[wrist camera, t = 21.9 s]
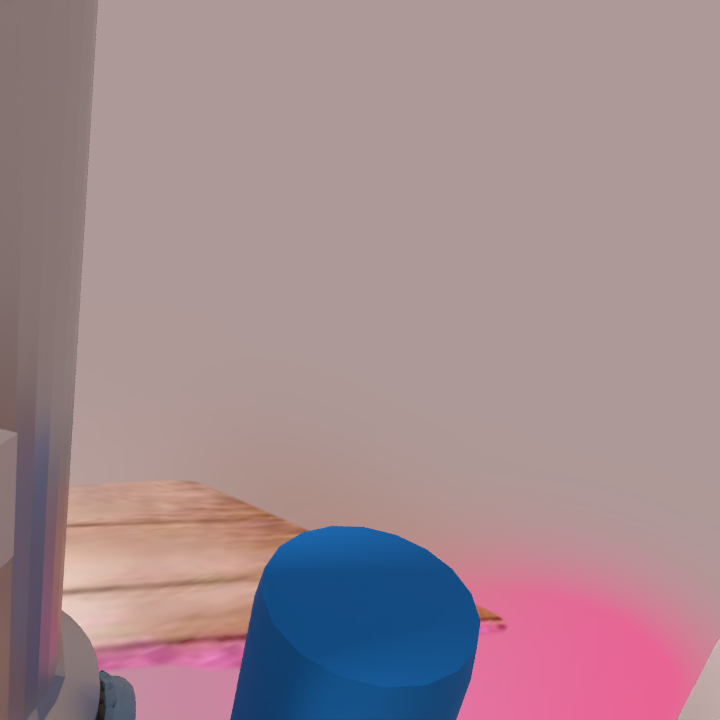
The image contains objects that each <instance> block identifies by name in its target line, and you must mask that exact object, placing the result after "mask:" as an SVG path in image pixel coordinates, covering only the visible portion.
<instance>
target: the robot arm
mask: <svg viewBox="0 0 720 720" xmlns="http://www.w3.org/2000/svg"><path fill="white" fill-rule="evenodd" d="M97 8H98V0H0V720H135V716H136V713H135V712H136V708H135V707H136V701H135V693H134V689H133V687H132V685H131V684H130V683H129V682H128V681H127V680H126V679H124V678H122V677H119V676H110V675H109V674H108V673H106V672H104V671H103V670H101V671H100V672H99V670H98V663H97V657H96V654H95V651H94V649H93V647H92V644H91V642H90V640H89V638H88V637H87V635H86V634H85V633H84V631H83V630H82V628H81V627H80V626H79V625H78V624H77V623H76V622H75V621H74V620H73V619H72V618H71V617H70V616H69V615H67V614H66V613H65V612H63V611H62V610H61V609H62V593H63V576H64V559H65V542H66V526H67V509H68V492H69V476H70V459H71V441H72V425H73V408H74V392H75V375H76V359H77V342H78V341H77V340H78V325H79V308H80V291H81V273H82V258H83V240H84V225H85V207H86V192H87V175H88V158H89V141H90V123H91V108H92V91H93V74H94V58H95V41H96V24H97ZM677 720H720V638H719V640H718V642H717V644H716V646H715V648H714V650H713V651H712V653H711V655H710V657H709V659H708V661H707V663H706V665H705V667H704V669H703V671H702V673H701V674H700V676H699V679H698V680H697V682H696V684H695V686H694V688H693V690H692V692H691V694H690V695H689V697H688V699H687V701H686V703H685V705H684V707H683V709H682V711H681V713H680V715H679V717H678V718H677Z"/></svg>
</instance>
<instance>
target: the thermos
mask: <svg viewBox="0 0 720 720" xmlns="http://www.w3.org/2000/svg"><path fill="white" fill-rule="evenodd" d="M479 627H480V618H479V615H478V612H477V609H476V606H475V603H474V600H473V597H472V594H471V593H470V591H469V590H468V589H467V588H466V586H465V585H464V584H463V582H462V581H461V580H460V579H459V577H458V576H457V575H456V574H455V572H454V571H453V570H452V569H451V568H450V567H449V566H447V565H446V564H445V563H443V562H442V561H441V560H440V559H438V558H437V557H436V556H434V555H433V554H432V553H430V552H429V551H428V550H426V549H425V548H422V547H420V546H418V545H416V544H414V543H412V542H410V541H408V540H405V539H403V538H401V537H399V536H397V535H393V534H389V533H386V532H382V531H378V530H374V529H369V528H365V527H342V526H330V527H326V528H322V529H317V530H313V531H308V532H303V533H301V534H300V535H298V536H296V537H295V538H293V539H291V540H290V541H288V542H286V543H285V544H283V545H281V546H280V547H279V548H278V549H277V551H276V552H275V554H274V555H273V557H272V558H271V559H270V561H269V562H268V564H267V565H266V567H265V569H264V571H263V574H262V577H261V580H260V582H259V585H258V588H257V591H256V594H255V597H254V602H253V607H252V612H251V617H250V622H249V628H248V633H247V638H246V643H245V648H244V653H243V658H242V663H241V668H240V673H239V679H238V684H237V690H236V694H235V700H234V704H233V709H232V714H231V719H230V720H456V719H457V715H458V713H459V710H460V708H461V705H462V702H463V699H464V696H465V693H466V691H467V688H468V685H469V683H470V680H471V675H472V669H473V664H474V659H475V654H476V649H477V642H478V635H479Z"/></svg>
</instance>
